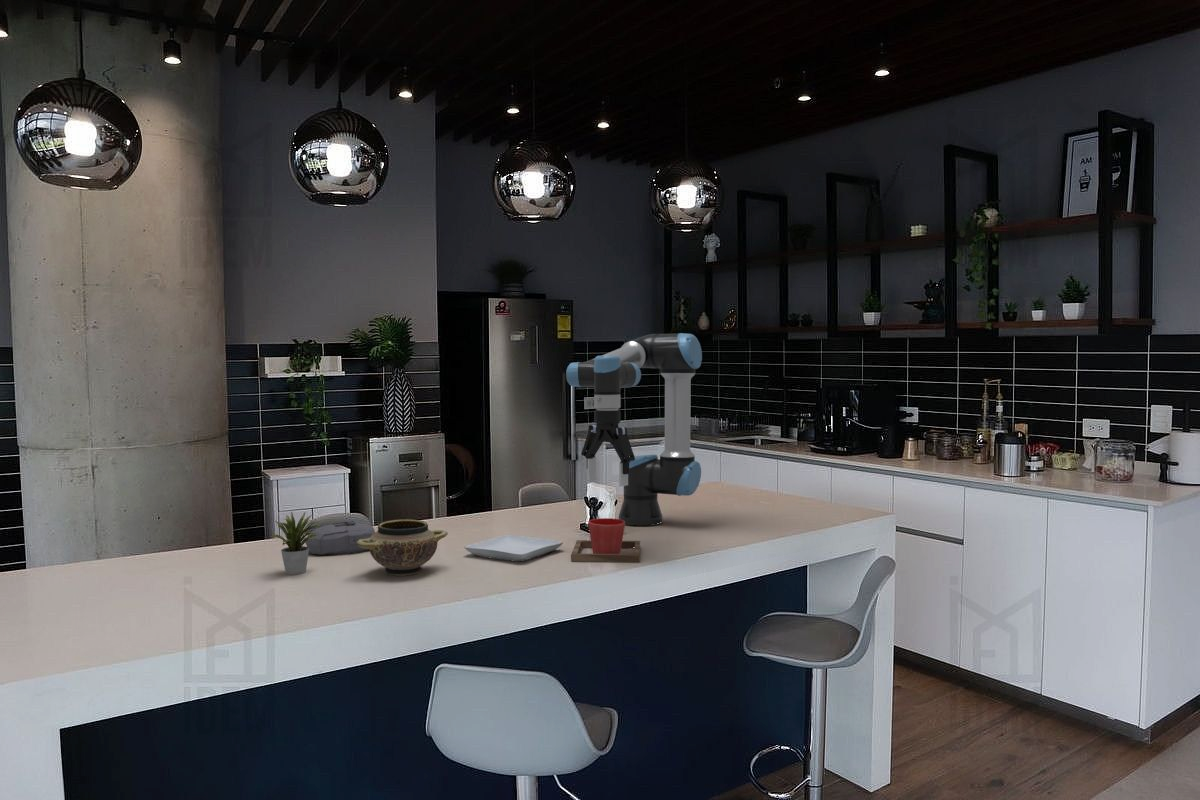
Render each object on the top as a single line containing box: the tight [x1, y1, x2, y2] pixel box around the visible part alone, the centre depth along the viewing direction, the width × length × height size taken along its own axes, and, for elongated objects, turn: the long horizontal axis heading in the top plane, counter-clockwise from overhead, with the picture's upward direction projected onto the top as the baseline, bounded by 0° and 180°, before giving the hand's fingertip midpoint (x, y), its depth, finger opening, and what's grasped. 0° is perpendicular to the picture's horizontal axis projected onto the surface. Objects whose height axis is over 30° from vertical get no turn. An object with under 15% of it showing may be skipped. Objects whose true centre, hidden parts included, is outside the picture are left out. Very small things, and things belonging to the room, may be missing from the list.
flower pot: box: [588, 517, 626, 554], centre depth 250 cm, size 11×11×10 cm
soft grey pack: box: [304, 520, 376, 556], centre depth 257 cm, size 15×8×20 cm
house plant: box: [270, 510, 323, 576], centre depth 229 cm, size 14×14×16 cm
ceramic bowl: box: [357, 518, 449, 577], centre depth 231 cm, size 24×18×15 cm
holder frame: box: [570, 539, 641, 563], centre depth 250 cm, size 19×19×2 cm
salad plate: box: [464, 534, 564, 562], centre depth 252 cm, size 21×21×3 cm
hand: (607, 483), depth 249 cm, fingers open, 13 cm apart
